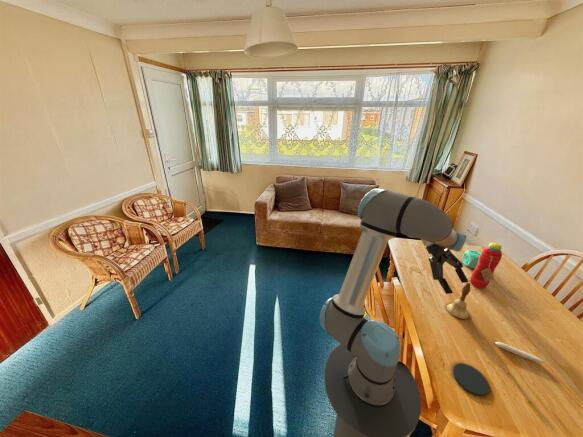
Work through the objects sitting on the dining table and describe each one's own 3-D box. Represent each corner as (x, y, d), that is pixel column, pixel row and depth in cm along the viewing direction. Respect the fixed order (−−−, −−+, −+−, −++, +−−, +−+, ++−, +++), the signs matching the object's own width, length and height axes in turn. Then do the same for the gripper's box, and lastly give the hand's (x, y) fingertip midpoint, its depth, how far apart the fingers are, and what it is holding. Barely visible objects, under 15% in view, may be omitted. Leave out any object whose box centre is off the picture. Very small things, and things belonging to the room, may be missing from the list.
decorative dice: (474, 261, 138) (479, 250, 134) (482, 269, 131) (488, 258, 127) (460, 260, 139) (464, 249, 135) (467, 268, 132) (472, 256, 128)
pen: (544, 366, 82) (546, 363, 81) (494, 345, 89) (496, 342, 88) (543, 362, 83) (545, 360, 82) (494, 342, 90) (495, 339, 89)
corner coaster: (472, 399, 72) (473, 398, 72) (445, 368, 81) (446, 367, 81) (496, 390, 75) (496, 389, 74) (467, 361, 83) (468, 360, 83)
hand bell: (443, 310, 104) (454, 283, 98) (450, 301, 109) (461, 275, 102) (465, 322, 99) (478, 294, 92) (470, 312, 104) (483, 285, 97)
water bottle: (487, 296, 112) (508, 254, 101) (467, 289, 117) (485, 248, 106) (487, 283, 121) (506, 243, 110) (469, 277, 125) (485, 238, 114)
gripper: (424, 249, 98) (450, 297, 93) (455, 234, 109) (479, 276, 104) (410, 253, 104) (434, 298, 99) (440, 239, 116) (463, 279, 111)
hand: (457, 287), depth 102 cm, fingers open, 13 cm apart
